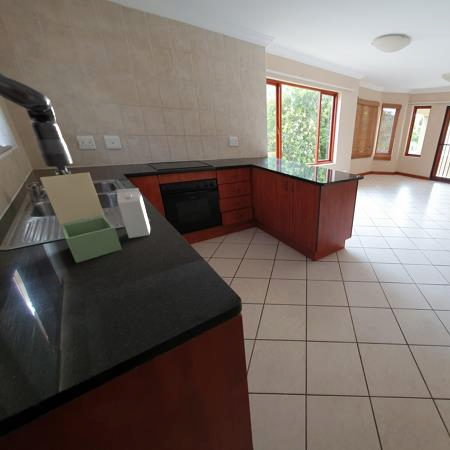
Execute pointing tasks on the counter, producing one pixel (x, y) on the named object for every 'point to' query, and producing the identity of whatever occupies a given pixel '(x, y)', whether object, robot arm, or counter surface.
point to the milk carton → (133, 212)
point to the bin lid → (72, 197)
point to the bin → (91, 238)
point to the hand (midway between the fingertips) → (72, 197)
